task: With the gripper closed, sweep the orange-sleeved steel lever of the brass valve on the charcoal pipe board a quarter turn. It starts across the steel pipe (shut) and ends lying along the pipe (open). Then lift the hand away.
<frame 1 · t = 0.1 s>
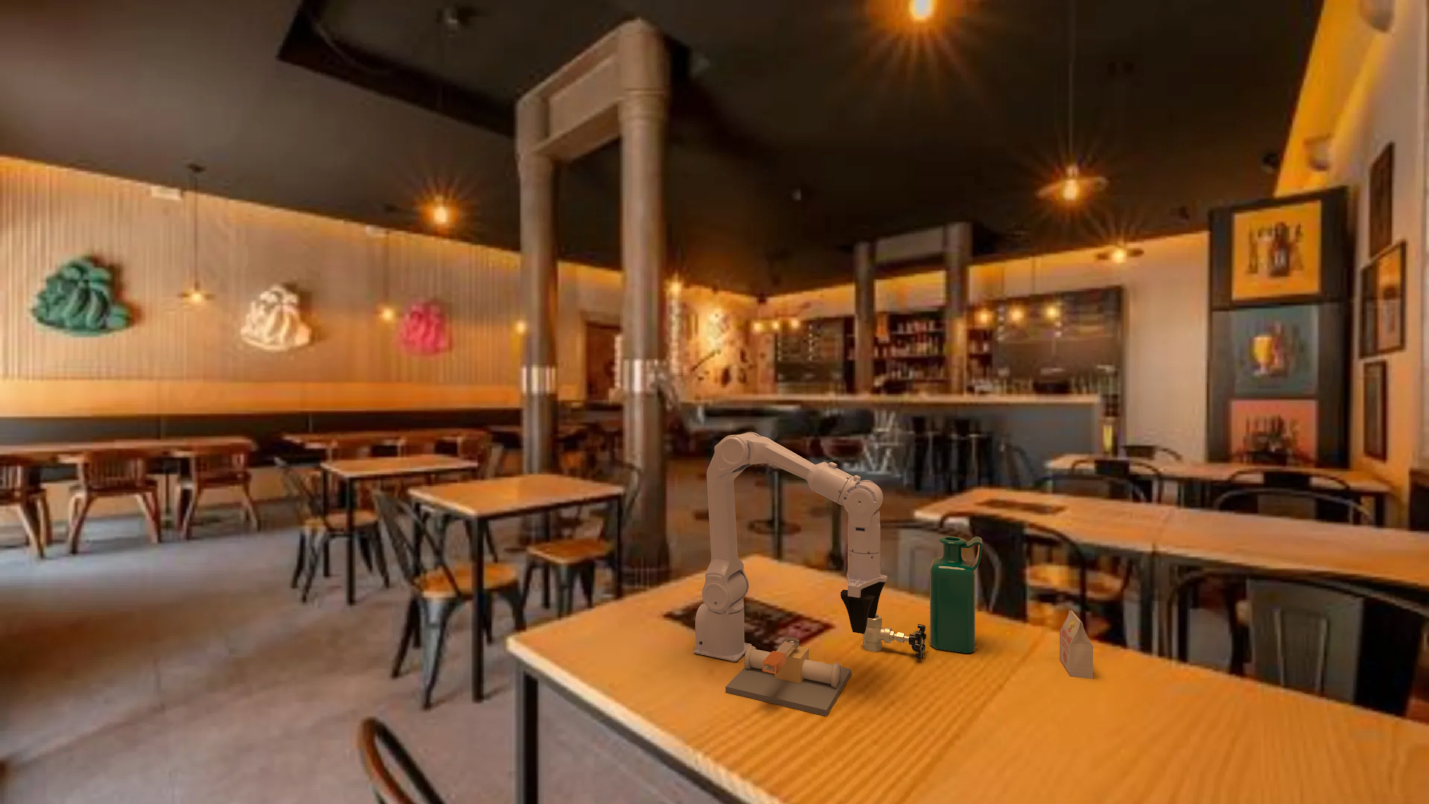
hand: (864, 624, 110), 10 cm above the table, fingers open, 7 cm apart
pipe board: (792, 680, 110), on the table
pitcher: (955, 645, 125), on the table
milk carton: (1075, 670, 114), on the table
valve: (892, 653, 122), on the table
valve lever: (782, 654, 106), point 7 cm above the table, hinge at 0.0°
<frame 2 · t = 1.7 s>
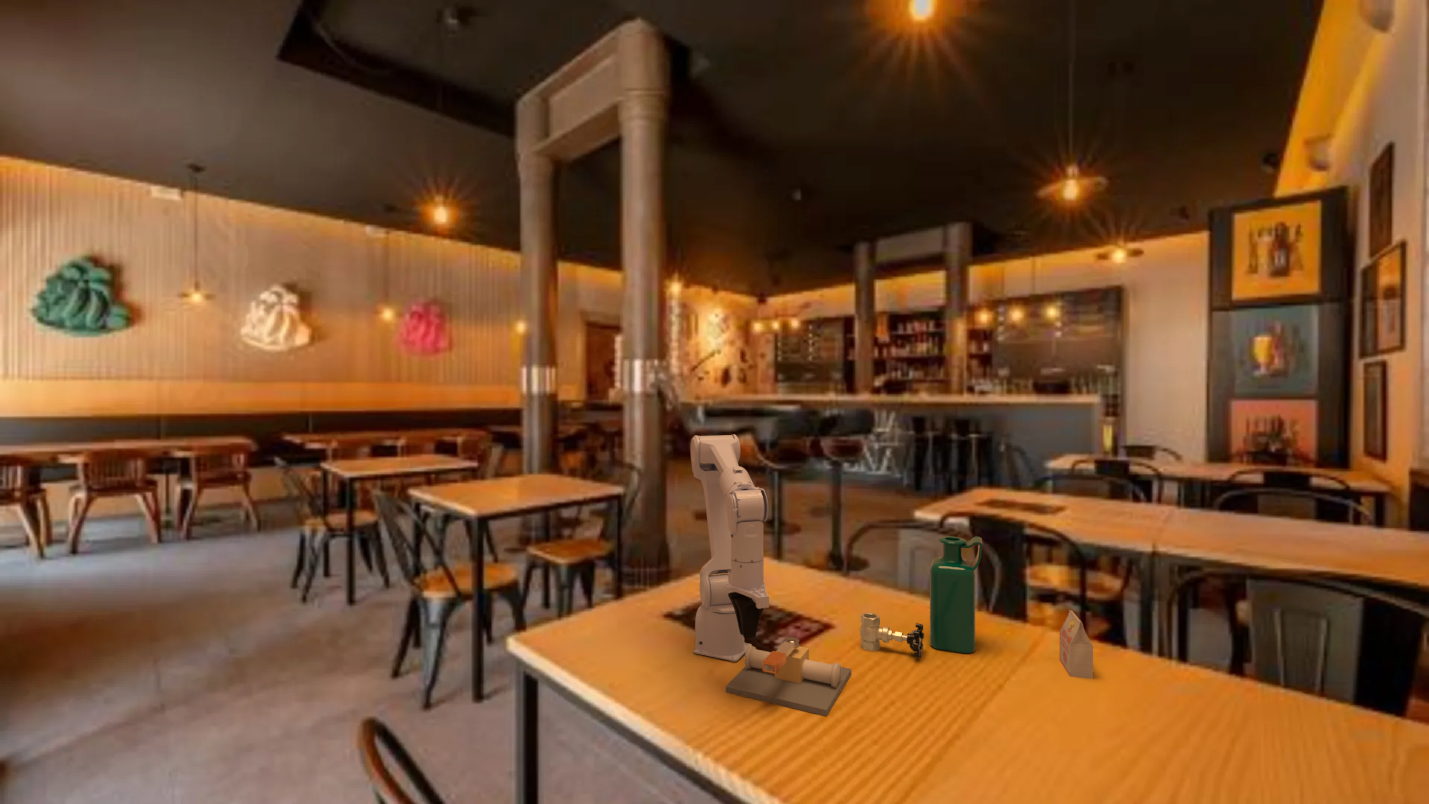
hand: (747, 635, 107), 9 cm above the table, fingers closed
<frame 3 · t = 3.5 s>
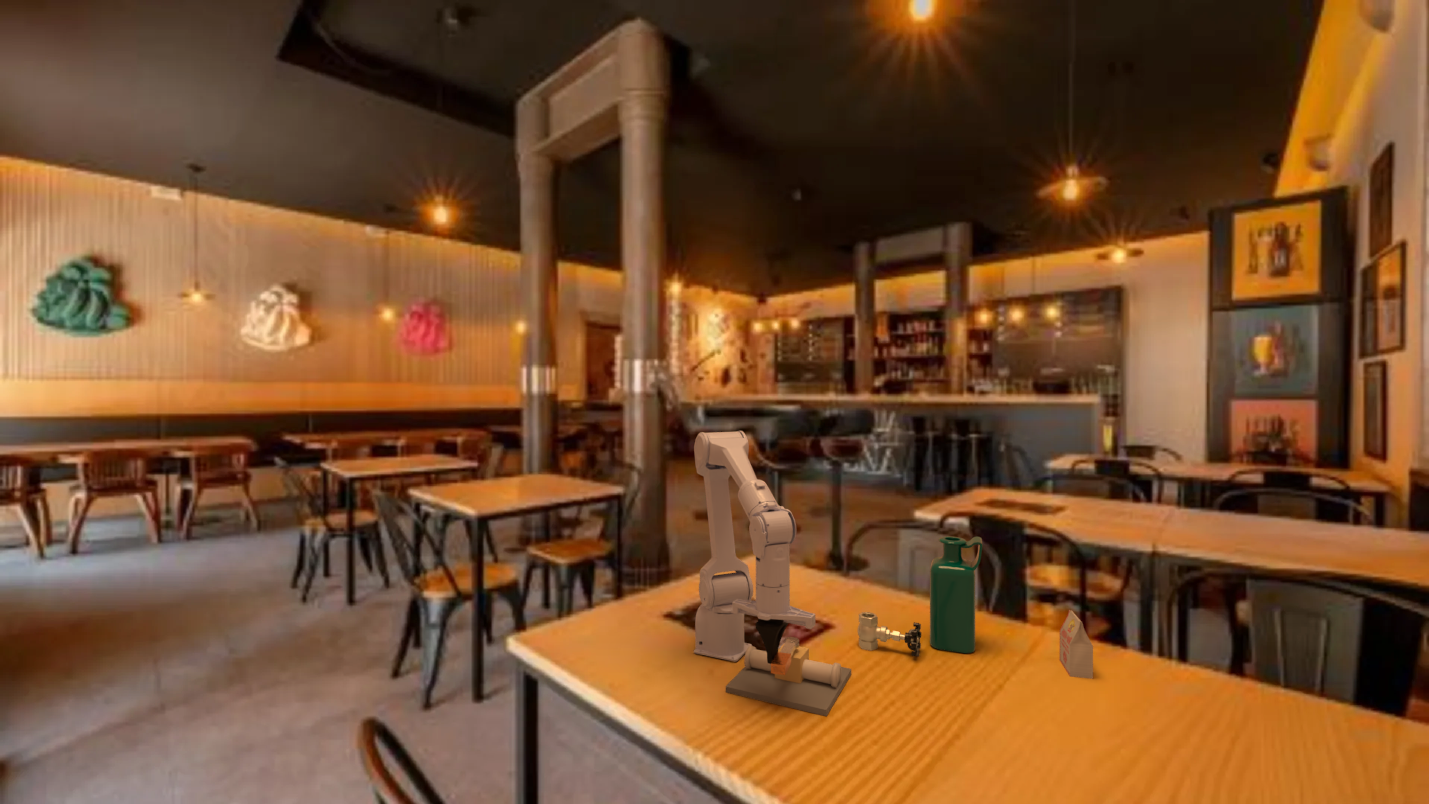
hand: (772, 661, 104), 6 cm above the table, fingers closed, pressing on valve lever
valve lever: (786, 654, 106), point 7 cm above the table, hinge at 7.8°, touching gripper
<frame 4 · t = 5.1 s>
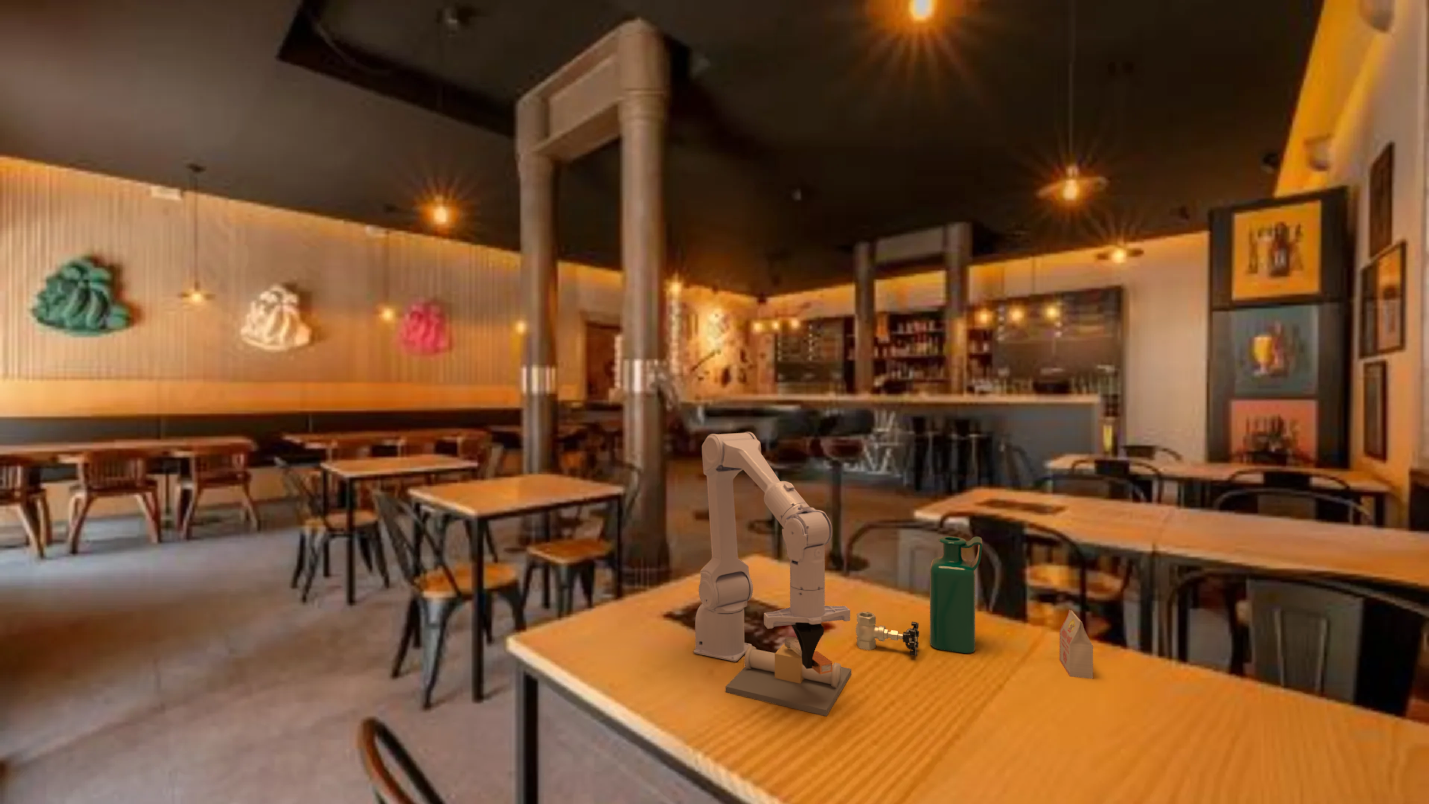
hand: (807, 666, 102), 6 cm above the table, fingers closed, pressing on valve lever
valve lever: (806, 654, 106), point 7 cm above the table, hinge at 49.9°, touching gripper
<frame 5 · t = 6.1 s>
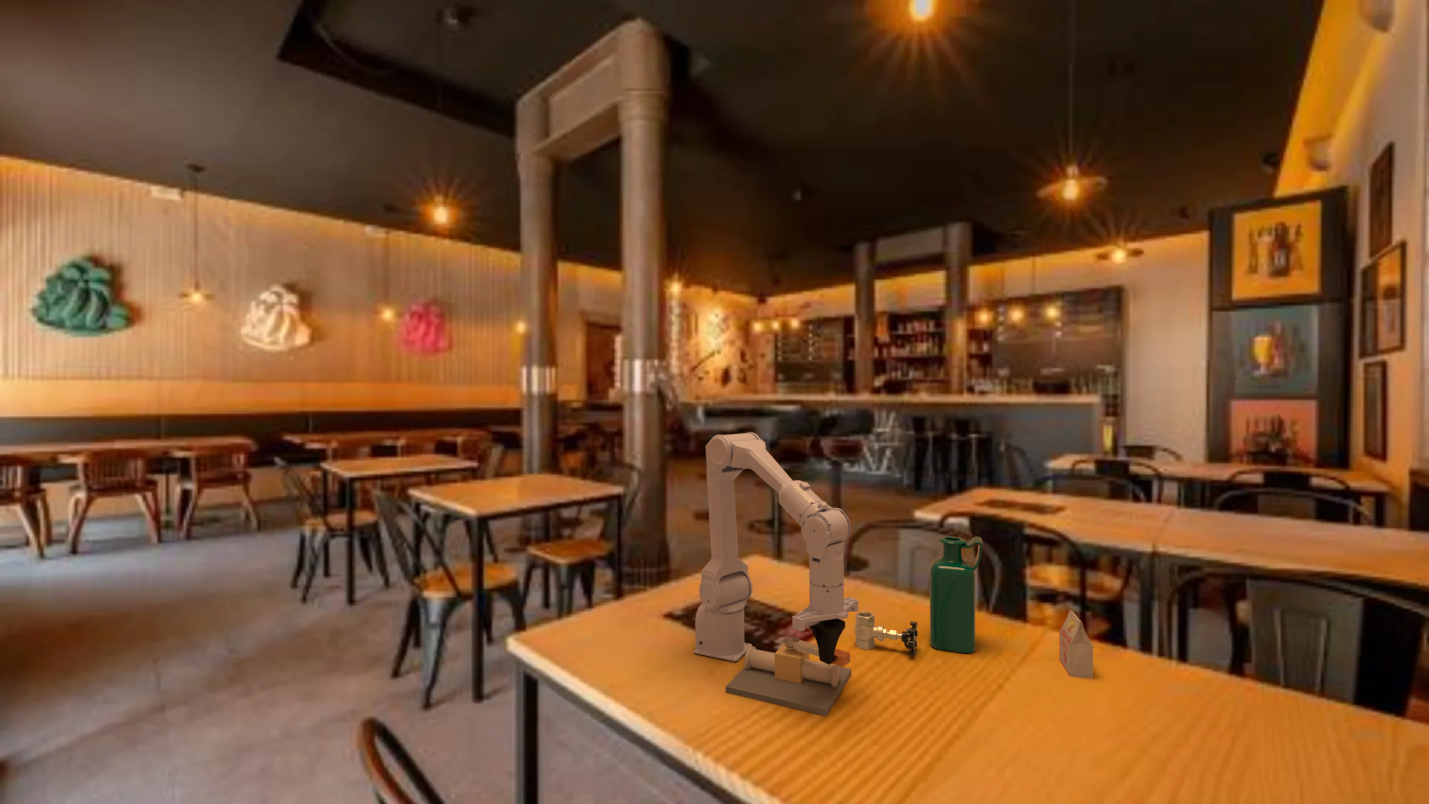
hand: (826, 661, 103), 6 cm above the table, fingers closed, pressing on valve lever
valve lever: (815, 651, 107), point 7 cm above the table, hinge at 75.9°, touching gripper
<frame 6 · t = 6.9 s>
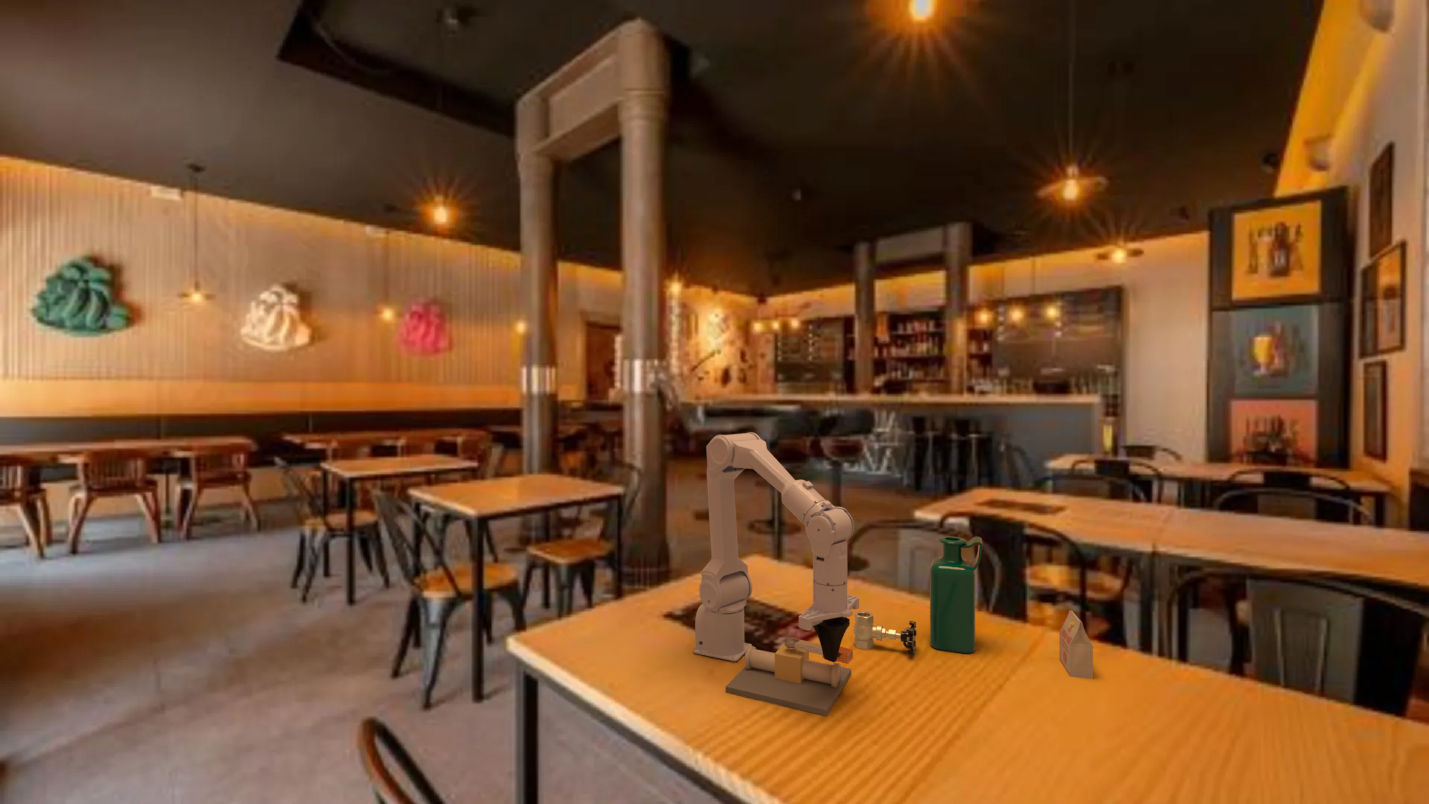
hand: (830, 660, 104), 6 cm above the table, fingers closed
valve lever: (816, 649, 108), point 7 cm above the table, hinge at 83.8°, touching gripper
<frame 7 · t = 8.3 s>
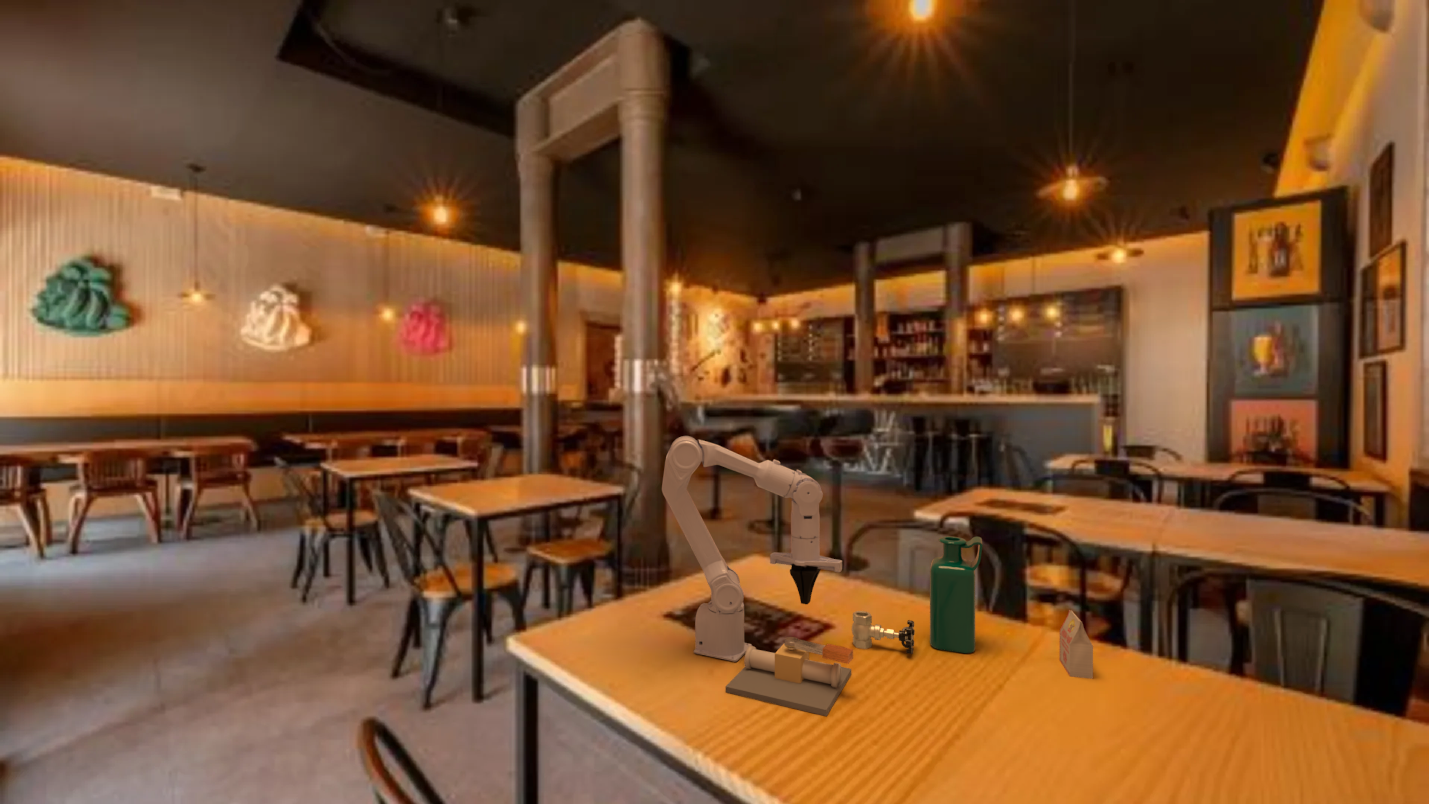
hand: (805, 602, 124), 9 cm above the table, fingers closed
valve lever: (816, 649, 108), point 7 cm above the table, hinge at 84.1°
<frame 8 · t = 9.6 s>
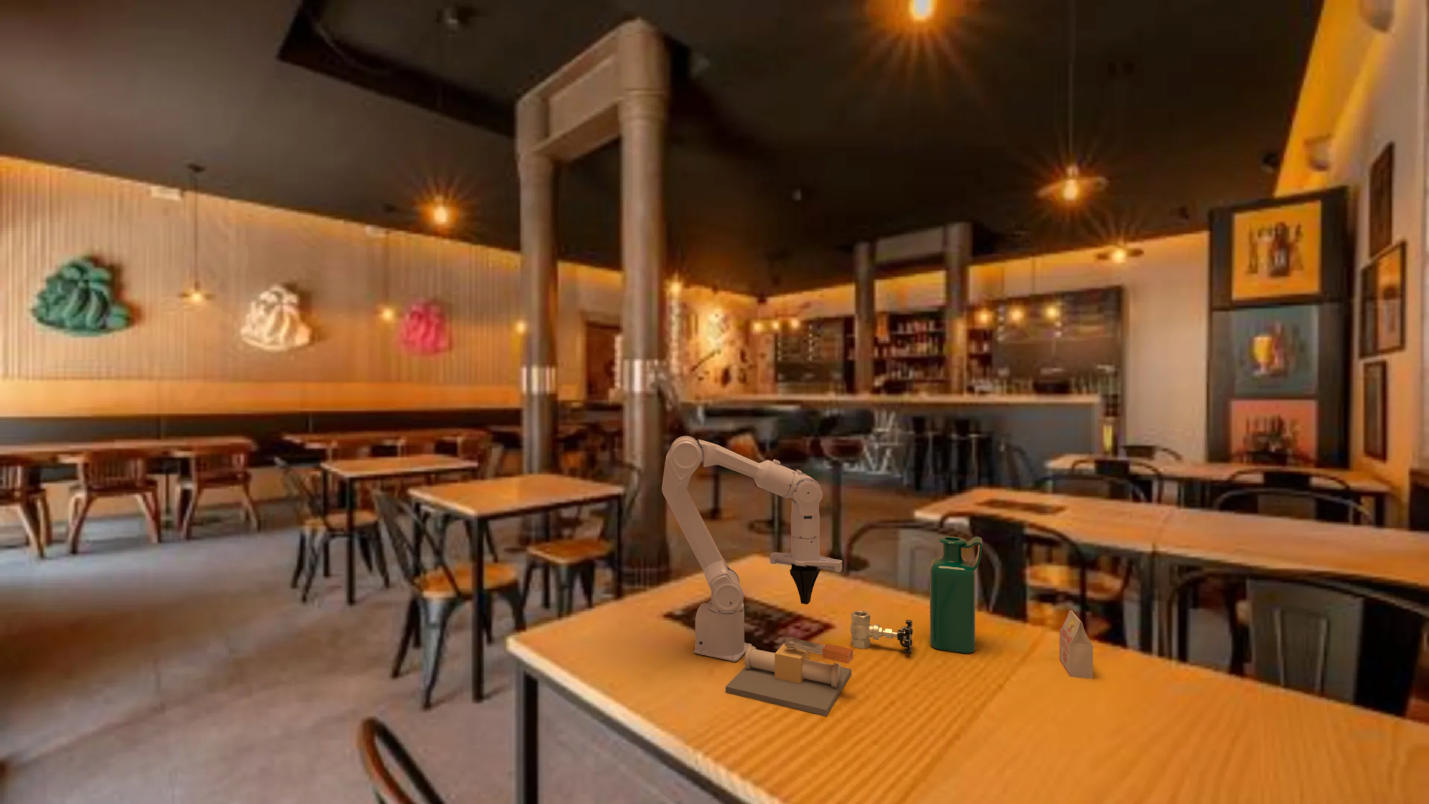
hand: (805, 602, 124), 9 cm above the table, fingers closed
at the end: valve lever at +84° (first picture: +0°); valve moved 2.8 cm from its start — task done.
